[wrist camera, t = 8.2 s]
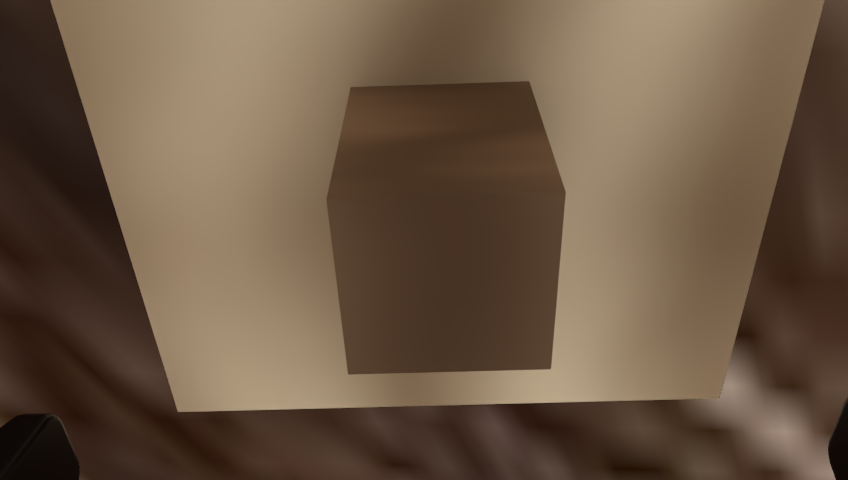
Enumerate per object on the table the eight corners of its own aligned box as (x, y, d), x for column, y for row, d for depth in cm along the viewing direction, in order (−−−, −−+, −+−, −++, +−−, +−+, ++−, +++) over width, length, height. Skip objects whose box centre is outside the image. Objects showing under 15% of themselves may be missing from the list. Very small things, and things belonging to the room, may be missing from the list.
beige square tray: (864, -261, 11) (1118, -272, 7) (708, 374, 18) (789, 549, 14) (6, -227, 11) (-225, -217, 7) (186, 388, 18) (121, 564, 14)
